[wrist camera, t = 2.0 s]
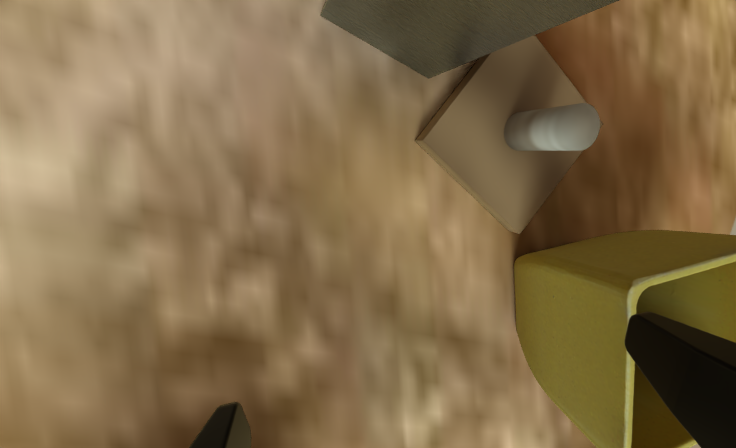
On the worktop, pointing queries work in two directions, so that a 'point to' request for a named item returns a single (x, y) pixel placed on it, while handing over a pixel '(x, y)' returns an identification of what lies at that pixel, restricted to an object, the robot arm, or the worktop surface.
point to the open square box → (450, 26)
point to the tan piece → (511, 131)
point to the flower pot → (619, 324)
